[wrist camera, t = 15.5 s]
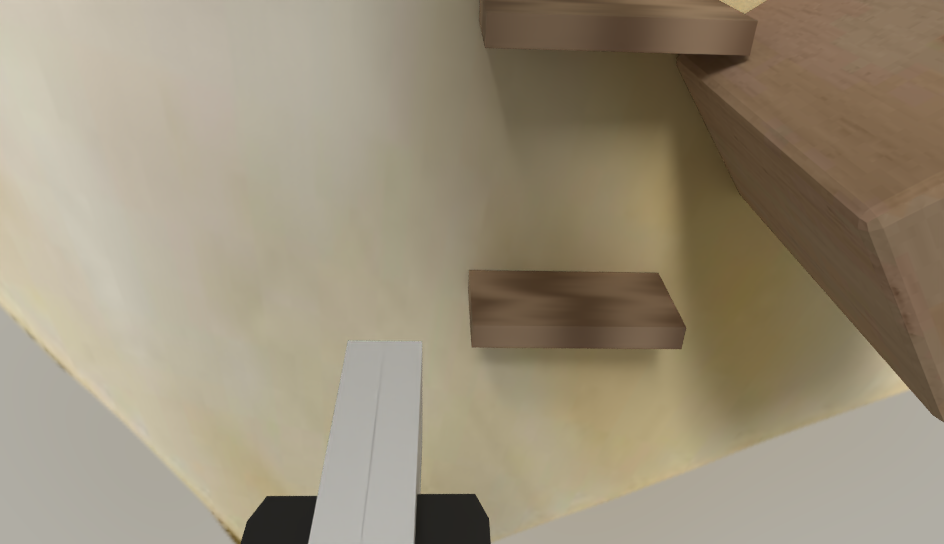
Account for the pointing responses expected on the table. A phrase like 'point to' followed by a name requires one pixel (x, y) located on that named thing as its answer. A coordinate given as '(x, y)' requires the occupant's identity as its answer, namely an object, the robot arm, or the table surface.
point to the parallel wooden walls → (593, 293)
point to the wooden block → (846, 160)
